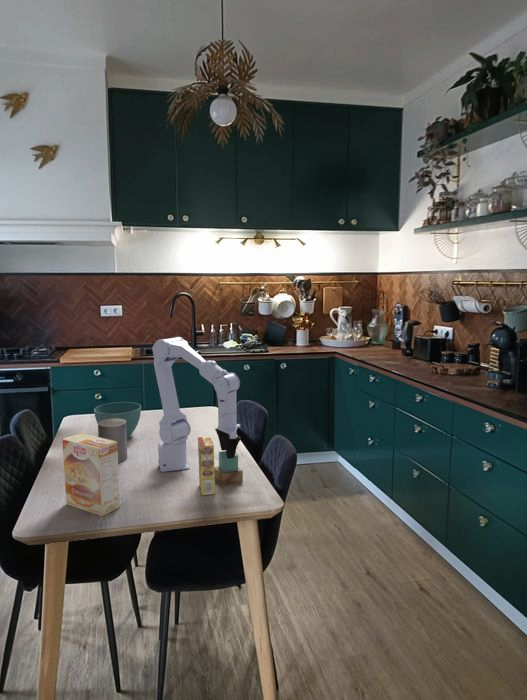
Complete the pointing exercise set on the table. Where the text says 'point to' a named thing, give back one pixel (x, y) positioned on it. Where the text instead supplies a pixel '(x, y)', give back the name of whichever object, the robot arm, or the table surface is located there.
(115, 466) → the coffeecake box
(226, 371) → the robot arm
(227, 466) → the teal cube
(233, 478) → the block
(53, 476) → the table surface
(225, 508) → the table surface
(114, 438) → the pillar candle
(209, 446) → the candy box
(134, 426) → the green bowl
